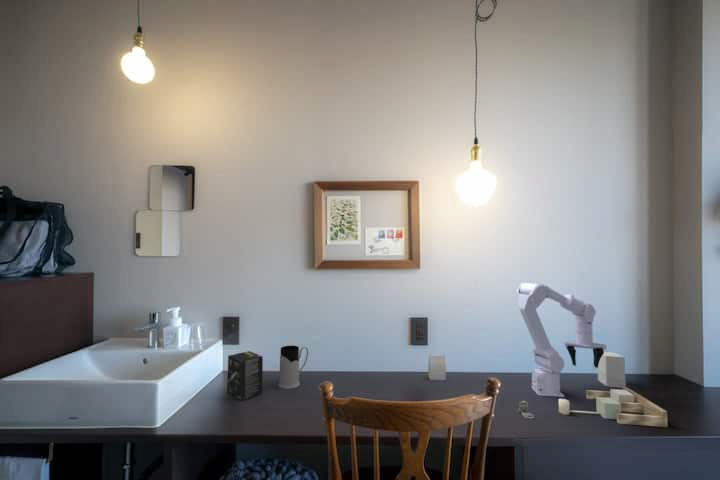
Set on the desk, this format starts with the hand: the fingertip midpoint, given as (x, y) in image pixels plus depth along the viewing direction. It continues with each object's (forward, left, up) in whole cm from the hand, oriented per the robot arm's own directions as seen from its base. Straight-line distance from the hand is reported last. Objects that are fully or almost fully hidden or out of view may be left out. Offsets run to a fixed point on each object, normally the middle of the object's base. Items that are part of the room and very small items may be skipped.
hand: (584, 365), depth 136 cm
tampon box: (-134, -27, -10) cm, 137 cm away
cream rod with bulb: (-11, -24, -9) cm, 28 cm away
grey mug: (-119, -13, -10) cm, 120 cm away
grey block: (+6, -14, -10) cm, 18 cm away
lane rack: (+3, -19, -9) cm, 21 cm away
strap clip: (-32, -26, -10) cm, 42 cm away
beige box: (-59, +2, -10) cm, 60 cm away
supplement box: (+14, +8, -10) cm, 19 cm away
